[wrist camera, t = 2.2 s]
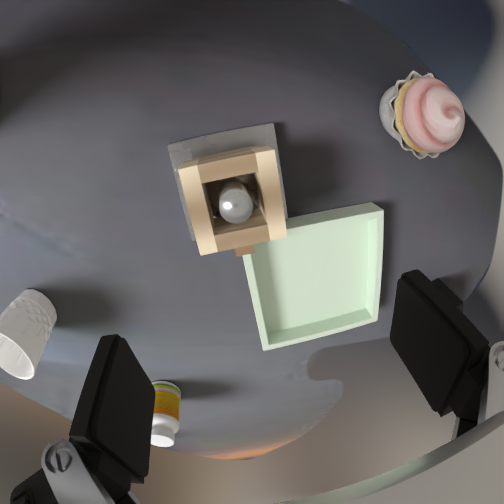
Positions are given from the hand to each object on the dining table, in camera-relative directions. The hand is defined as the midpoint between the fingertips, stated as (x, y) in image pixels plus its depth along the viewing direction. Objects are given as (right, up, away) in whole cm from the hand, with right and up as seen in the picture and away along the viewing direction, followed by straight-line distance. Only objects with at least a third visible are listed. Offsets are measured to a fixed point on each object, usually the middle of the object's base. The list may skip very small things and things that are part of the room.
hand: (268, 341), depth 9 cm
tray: (+7, 0, +26) cm, 27 cm away
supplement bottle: (-14, -19, +33) cm, 40 cm away
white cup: (-30, -5, +24) cm, 39 cm away
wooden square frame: (-2, +8, +16) cm, 18 cm away
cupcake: (+16, +19, +18) cm, 30 cm away
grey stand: (-3, +10, +20) cm, 22 cm away
